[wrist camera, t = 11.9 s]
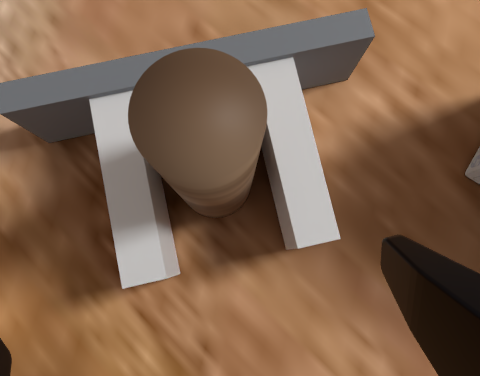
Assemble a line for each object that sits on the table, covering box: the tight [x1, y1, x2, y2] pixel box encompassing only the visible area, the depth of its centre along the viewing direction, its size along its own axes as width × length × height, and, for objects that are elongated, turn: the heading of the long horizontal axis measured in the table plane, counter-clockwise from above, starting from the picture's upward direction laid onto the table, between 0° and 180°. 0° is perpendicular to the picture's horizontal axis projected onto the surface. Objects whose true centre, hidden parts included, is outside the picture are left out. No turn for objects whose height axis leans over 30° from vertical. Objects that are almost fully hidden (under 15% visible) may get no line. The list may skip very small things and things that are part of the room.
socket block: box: [89, 57, 341, 289], centre depth 21 cm, size 9×10×4 cm
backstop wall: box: [0, 8, 375, 143], centre depth 22 cm, size 2×18×5 cm, turn 103°
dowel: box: [128, 48, 267, 218], centre depth 18 cm, size 4×4×12 cm
